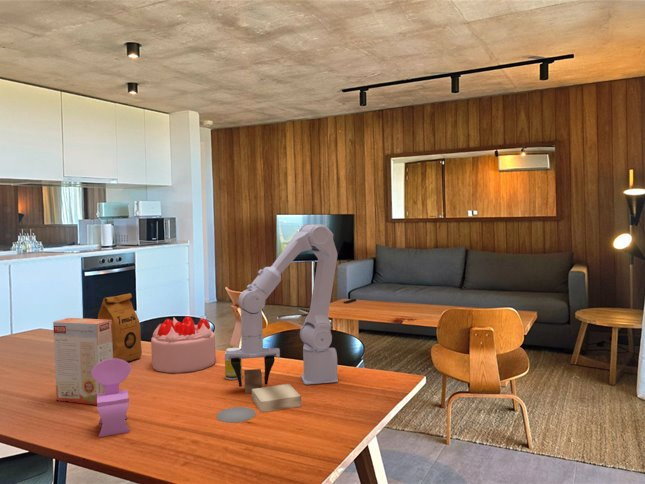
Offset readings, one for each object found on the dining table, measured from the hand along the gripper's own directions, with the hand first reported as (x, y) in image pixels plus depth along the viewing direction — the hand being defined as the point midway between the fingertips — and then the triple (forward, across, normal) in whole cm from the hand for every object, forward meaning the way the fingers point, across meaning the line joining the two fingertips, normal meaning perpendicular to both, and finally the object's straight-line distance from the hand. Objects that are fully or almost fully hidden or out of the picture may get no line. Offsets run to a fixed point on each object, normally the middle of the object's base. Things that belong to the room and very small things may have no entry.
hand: (253, 384), depth 139 cm
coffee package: (+2, -41, +39) cm, 57 cm away
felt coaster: (+2, -5, -17) cm, 18 cm away
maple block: (+2, +5, -11) cm, 12 cm away
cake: (+2, -20, +30) cm, 36 cm away
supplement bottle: (+2, -5, +12) cm, 13 cm away
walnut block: (+2, 0, 0) cm, 2 cm away
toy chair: (+2, -32, -18) cm, 37 cm away
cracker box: (+2, -43, +3) cm, 43 cm away
